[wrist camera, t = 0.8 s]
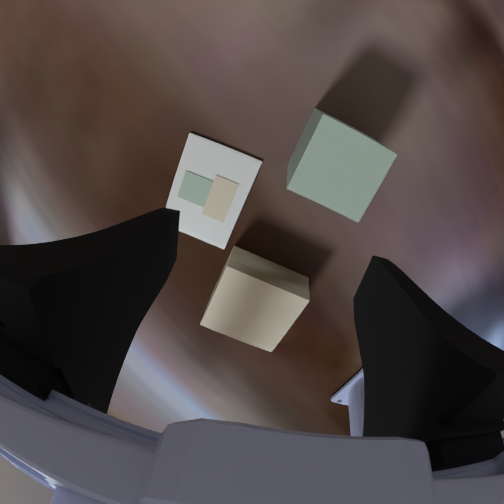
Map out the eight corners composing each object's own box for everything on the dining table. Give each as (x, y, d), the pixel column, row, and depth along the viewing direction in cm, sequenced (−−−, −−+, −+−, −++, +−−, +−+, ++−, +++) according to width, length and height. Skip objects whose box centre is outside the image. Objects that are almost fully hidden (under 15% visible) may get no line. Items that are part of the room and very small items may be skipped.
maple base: (308, 275, 23) (309, 300, 20) (274, 326, 26) (271, 352, 23) (234, 243, 22) (226, 266, 20) (208, 300, 25) (200, 324, 23)
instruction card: (262, 161, 19) (262, 162, 19) (224, 248, 22) (224, 250, 22) (190, 132, 18) (189, 132, 18) (161, 222, 22) (160, 223, 22)
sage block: (371, 137, 17) (397, 154, 13) (343, 190, 19) (358, 222, 15) (314, 107, 17) (323, 113, 12) (287, 163, 19) (286, 188, 14)
